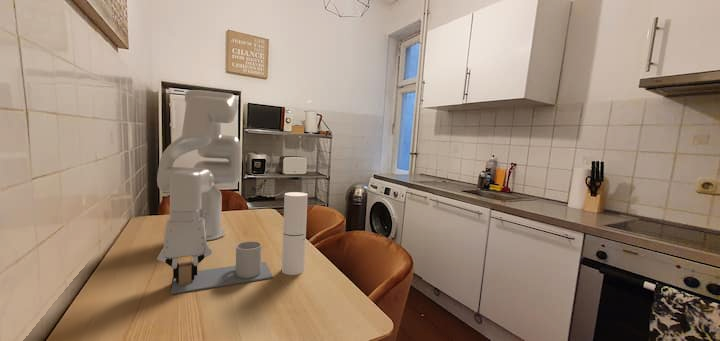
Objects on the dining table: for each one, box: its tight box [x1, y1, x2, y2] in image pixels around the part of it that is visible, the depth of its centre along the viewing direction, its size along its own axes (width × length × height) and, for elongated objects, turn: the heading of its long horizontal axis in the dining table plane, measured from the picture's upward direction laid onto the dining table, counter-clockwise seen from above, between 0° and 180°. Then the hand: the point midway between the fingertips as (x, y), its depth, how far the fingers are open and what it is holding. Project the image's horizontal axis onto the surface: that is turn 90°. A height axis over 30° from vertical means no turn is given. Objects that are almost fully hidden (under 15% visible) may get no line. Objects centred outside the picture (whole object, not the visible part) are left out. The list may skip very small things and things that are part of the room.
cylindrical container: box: [281, 191, 308, 276], centre depth 93 cm, size 7×7×25 cm
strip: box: [170, 260, 274, 295], centre depth 86 cm, size 12×26×5 cm, turn 118°
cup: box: [235, 240, 263, 278], centre depth 89 cm, size 7×10×9 cm
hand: (185, 278), depth 82 cm, fingers closed on strip, 3 cm apart
